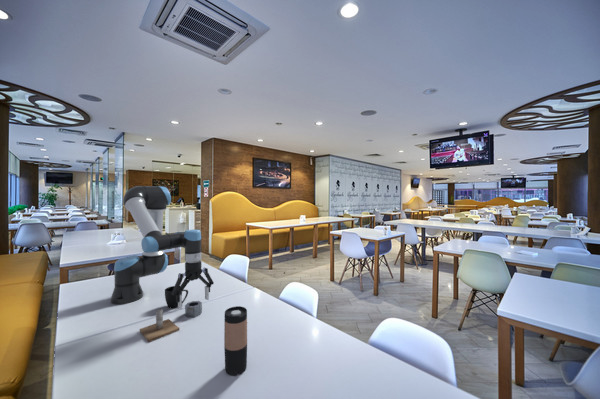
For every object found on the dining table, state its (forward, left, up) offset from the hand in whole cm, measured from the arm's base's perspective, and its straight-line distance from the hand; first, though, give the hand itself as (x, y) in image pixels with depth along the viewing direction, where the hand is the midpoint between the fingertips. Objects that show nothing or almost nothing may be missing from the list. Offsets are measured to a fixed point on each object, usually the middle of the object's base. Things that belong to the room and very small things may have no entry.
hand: (194, 303), depth 124 cm
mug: (-15, -2, -6) cm, 17 cm away
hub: (0, 0, -5) cm, 5 cm away
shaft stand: (+4, -17, -5) cm, 18 cm away
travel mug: (+49, -8, -6) cm, 50 cm away
